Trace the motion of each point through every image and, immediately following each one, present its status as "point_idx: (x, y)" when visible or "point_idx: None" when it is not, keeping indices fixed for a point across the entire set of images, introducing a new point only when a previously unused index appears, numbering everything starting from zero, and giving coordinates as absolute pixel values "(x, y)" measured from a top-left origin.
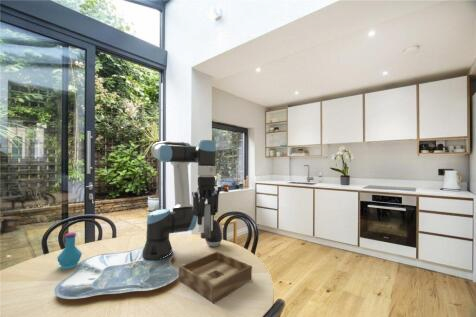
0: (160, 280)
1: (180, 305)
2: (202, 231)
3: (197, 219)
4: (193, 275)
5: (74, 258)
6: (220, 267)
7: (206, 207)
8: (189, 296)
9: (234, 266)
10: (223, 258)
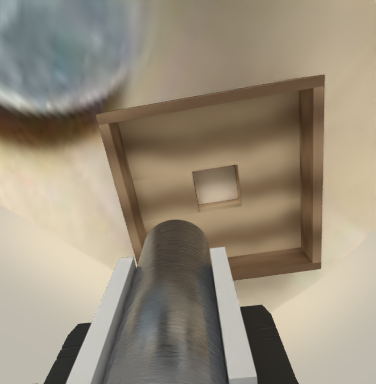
0: (53, 67)
1: (79, 225)
2: None
3: (47, 376)
4: (121, 205)
5: None
6: (262, 158)
7: None
8: (111, 207)
9: (302, 192)
10: (307, 134)
